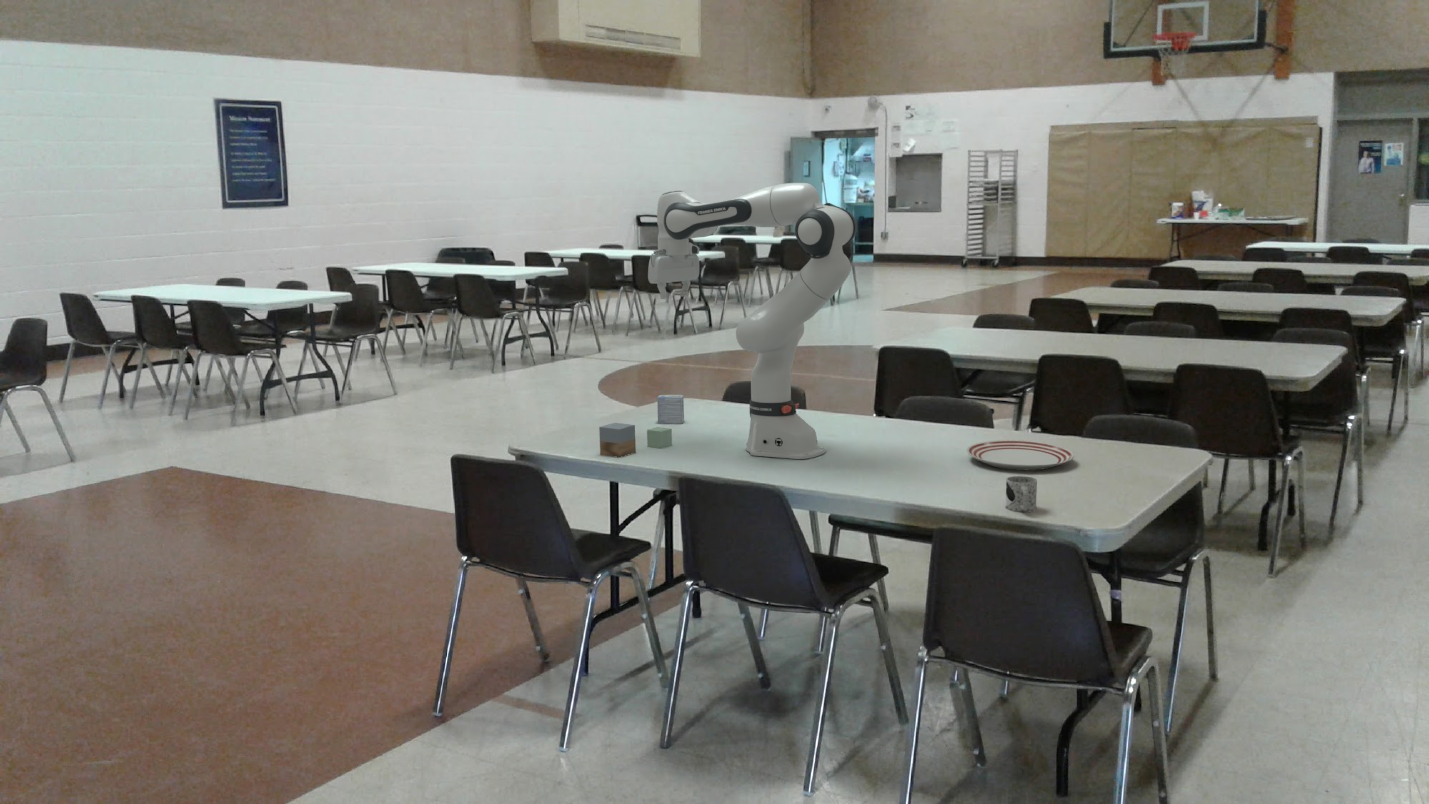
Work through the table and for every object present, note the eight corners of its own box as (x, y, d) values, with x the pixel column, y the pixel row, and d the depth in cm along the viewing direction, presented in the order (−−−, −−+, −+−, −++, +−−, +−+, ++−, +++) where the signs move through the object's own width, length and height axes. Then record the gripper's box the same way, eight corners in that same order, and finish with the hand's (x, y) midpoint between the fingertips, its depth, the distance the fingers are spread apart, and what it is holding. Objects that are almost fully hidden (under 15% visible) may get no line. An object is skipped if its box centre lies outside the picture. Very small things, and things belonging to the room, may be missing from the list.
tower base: (635, 453, 324) (635, 439, 323) (620, 458, 318) (619, 443, 317) (616, 450, 328) (615, 436, 327) (600, 455, 322) (599, 441, 321)
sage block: (671, 445, 333) (671, 428, 332) (661, 448, 328) (661, 431, 328) (657, 443, 335) (657, 426, 334) (647, 447, 331) (647, 429, 330)
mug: (1003, 504, 265) (1004, 475, 264) (1033, 504, 264) (1034, 476, 263) (1010, 516, 255) (1011, 486, 254) (1041, 516, 254) (1042, 487, 253)
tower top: (635, 439, 323) (634, 425, 322) (619, 443, 317) (619, 429, 317) (615, 436, 327) (615, 422, 326) (599, 441, 321) (599, 426, 320)
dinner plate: (1092, 472, 295) (1093, 459, 295) (990, 477, 291) (991, 464, 291) (1045, 449, 322) (1045, 437, 322) (951, 454, 318) (951, 442, 317)
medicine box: (684, 421, 368) (683, 394, 367) (682, 424, 364) (682, 397, 362) (659, 421, 369) (659, 394, 367) (657, 424, 364) (657, 397, 363)
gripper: (660, 250, 320) (661, 300, 322) (702, 247, 337) (703, 295, 339) (642, 250, 323) (643, 300, 326) (685, 247, 340) (686, 294, 342)
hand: (674, 297), depth 333 cm, fingers open, 8 cm apart
